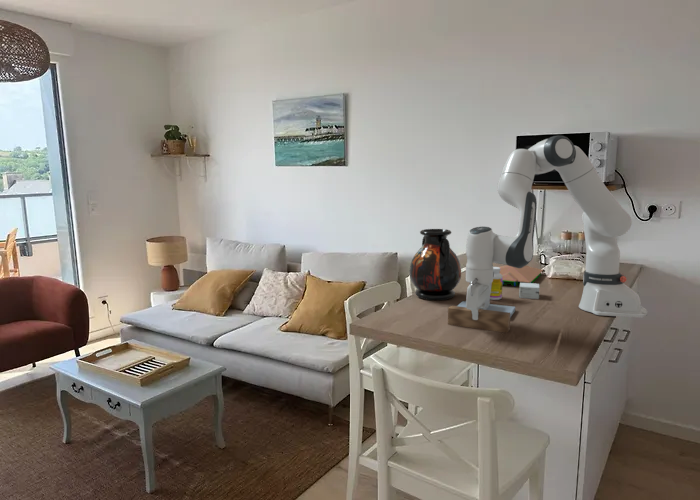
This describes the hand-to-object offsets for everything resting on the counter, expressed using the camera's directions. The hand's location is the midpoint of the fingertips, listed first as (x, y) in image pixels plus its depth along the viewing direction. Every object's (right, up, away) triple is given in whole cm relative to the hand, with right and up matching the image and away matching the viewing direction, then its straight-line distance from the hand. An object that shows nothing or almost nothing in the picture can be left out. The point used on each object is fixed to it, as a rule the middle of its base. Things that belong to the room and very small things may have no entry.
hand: (478, 316), depth 165 cm
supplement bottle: (+16, +2, +37) cm, 40 cm away
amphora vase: (-7, +3, +42) cm, 43 cm away
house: (+34, +7, +70) cm, 78 cm away
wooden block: (0, -4, +1) cm, 4 cm away
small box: (+31, +3, +39) cm, 50 cm away
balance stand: (+7, -1, +17) cm, 18 cm away
